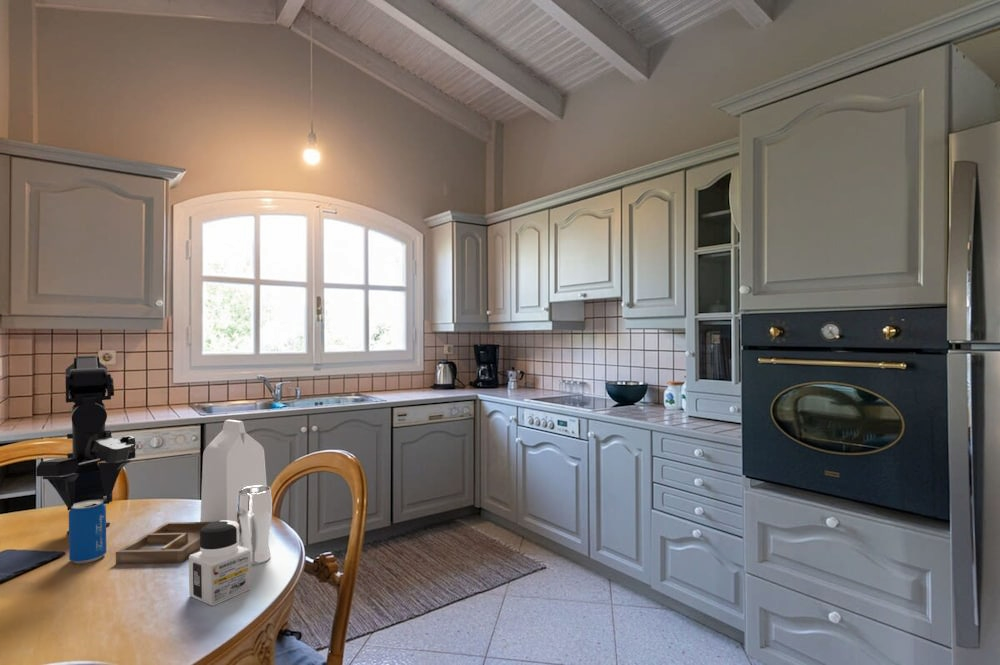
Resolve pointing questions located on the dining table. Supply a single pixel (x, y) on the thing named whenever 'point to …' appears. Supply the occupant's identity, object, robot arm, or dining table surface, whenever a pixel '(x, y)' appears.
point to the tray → (164, 544)
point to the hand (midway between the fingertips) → (90, 500)
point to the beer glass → (255, 521)
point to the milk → (229, 471)
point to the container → (219, 564)
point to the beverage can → (87, 531)
